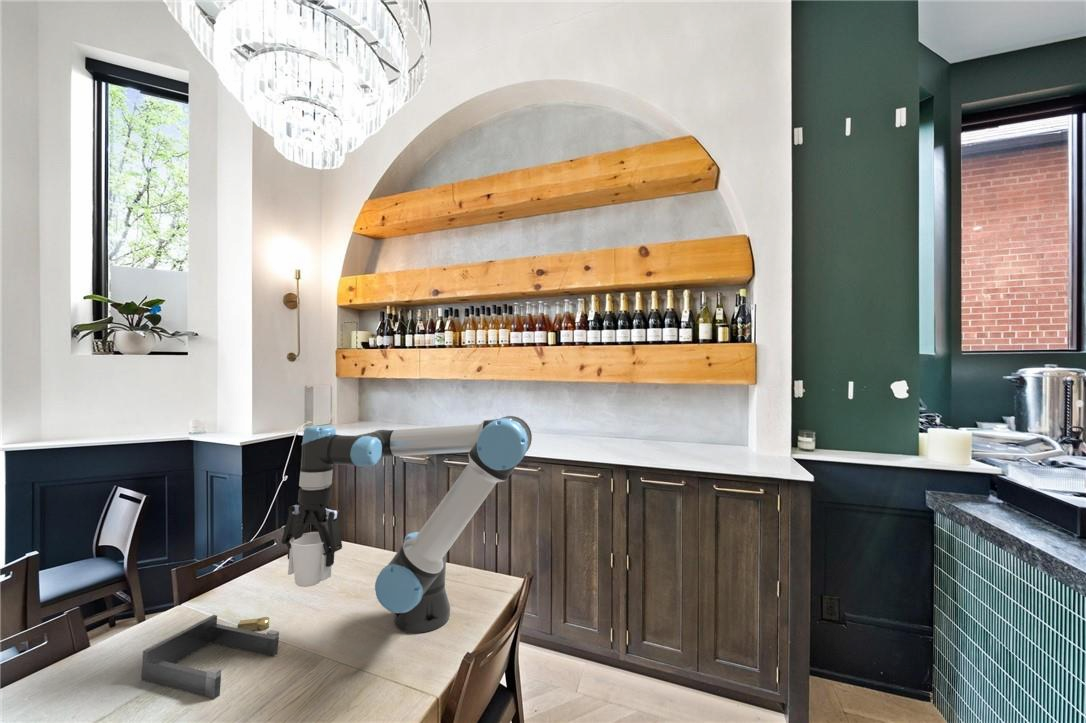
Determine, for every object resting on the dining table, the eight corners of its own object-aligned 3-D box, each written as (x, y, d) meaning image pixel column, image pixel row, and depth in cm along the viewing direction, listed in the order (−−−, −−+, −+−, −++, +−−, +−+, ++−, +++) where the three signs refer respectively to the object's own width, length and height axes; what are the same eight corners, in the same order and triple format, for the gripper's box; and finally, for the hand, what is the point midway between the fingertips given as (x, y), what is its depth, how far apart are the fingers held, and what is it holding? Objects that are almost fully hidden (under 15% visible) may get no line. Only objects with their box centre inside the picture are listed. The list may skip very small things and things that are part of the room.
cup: (321, 570, 116) (323, 528, 117) (337, 582, 109) (340, 538, 110) (280, 581, 108) (283, 537, 109) (295, 595, 102) (298, 548, 103)
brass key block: (270, 624, 114) (270, 616, 115) (266, 629, 112) (267, 621, 112) (240, 627, 113) (241, 619, 113) (236, 633, 110) (236, 625, 110)
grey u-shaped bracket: (277, 654, 102) (279, 628, 102) (213, 699, 87) (216, 668, 87) (211, 639, 107) (213, 614, 107) (140, 679, 92) (143, 651, 92)
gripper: (361, 487, 111) (355, 576, 110) (293, 479, 117) (287, 563, 116) (340, 494, 104) (334, 589, 102) (269, 485, 110) (262, 574, 108)
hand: (309, 575), depth 109 cm, fingers closed on cup, 9 cm apart
